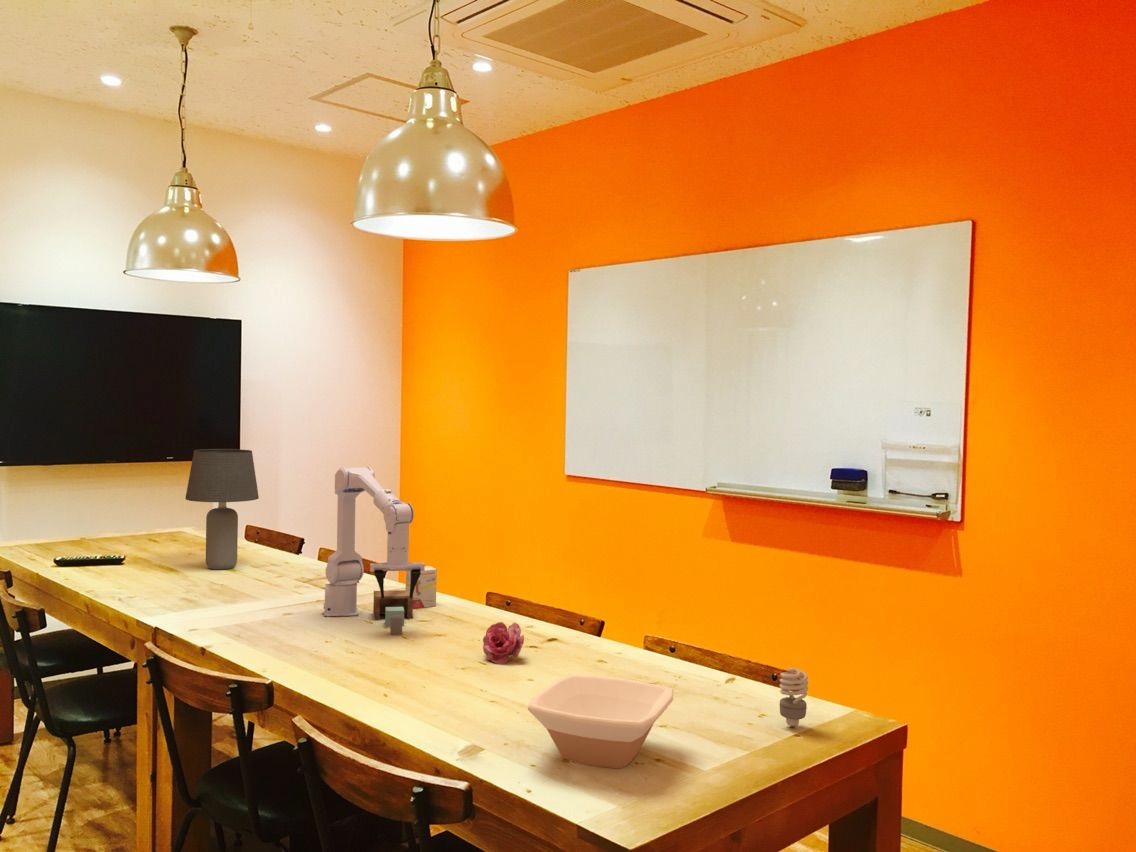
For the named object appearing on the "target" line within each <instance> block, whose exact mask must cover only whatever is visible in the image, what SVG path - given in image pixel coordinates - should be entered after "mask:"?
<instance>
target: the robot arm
mask: <svg viewBox="0 0 1136 852" xmlns="http://www.w3.org/2000/svg"><path fill="white" fill-rule="evenodd" d="M375 474H376V473H375V471H374V470H373V469H372V467H370V466H365V467H360V466H359V467H340V468H338V470H337V471H336V472H335V474H334V494H335V495H337V513H336V514H337V516H336V517H337V523H336V526H337V529H336V532H337V533H336V550H335V551H334V552H333V553H332V554H330V555H329V556H328V558H327V563H326V567H325V577H326V580H327V581H328V583H325V584H324V602H323V610H324V615H323V616H324V617H348V616H351V617H352V616H358V615H359V609H358V608H357V607H358V606H357V602H358V599H357V597H358V596H357V595H358V584H360V580H362V578H363V576H364V572H365V571H364V570H365V569H364V564H363V557H362V555H361V554H359V553H358V552H357V551H356V550H355V549H356V499H357V497H358V496H359V495H360V494H361V493H363V492H366V493H367V494H368V495H369V496H371V497H372V499H373V504H374V505H375V507H376V508H377V509H378V510H379V511H380V512H381V513H382V514H383V520H384V523H385V531H387V543H386V544H387V547H386V548H387V549H386V562H379V563H377V562H376V563H373V562H372V563H369V564H370V565H369V566H370V567H369V569H370V570H369V571H370V572H371V573H373V572H374V577H375V579H376V581H377V583H378V584H377V585H378V586H379V587H378V588H379V591H381V598H384V591H385V590H384V587H385V586H384V585H385V584H384V583H385V582H384V580H385V575H384V572H396V571H397V572H404V571H405V572H406V571H410V572H411V581H410V598H413V592H414V589H415V586H416V583H417V581H418V579H419V577H420V574H421V572H420V571H425V565H426V564H425V562H412V561H411V562H409V552H410V551H409V549H410V548H409V547H410V546H409V542H410V524H411V523H413V521H414V517H415V514H414V508H413V506H412V505H411V503H410V502H403V501H401V500H400V499H399V497H397V496H396V495H395V494H394V493H393V492H392V490H391V488H390V489H389V488H383V487H382V485H380V483H379V482H378V481H377V479H376V475H375Z"/></svg>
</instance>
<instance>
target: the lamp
mask: <svg viewBox="0 0 1136 852" xmlns="http://www.w3.org/2000/svg"><path fill="white" fill-rule="evenodd" d="M190 465H191V466H190V472H189V476H188V482H187V487H186V493H185V500H186V501H189V502H198V503H199V502H200V503H218V506H217V507H215V508H212V509H210V510H209V511H208V512H207V514H206V516H205V517H206V520H205V521H206V523H205V524H206V525H205V565H206V566H207V568H209V569H210V570H216V571H218V570H219V571H222V570H223V571H225V570H230V569H233V568H235V566H236V565H237V563H238V541H239V540H238V538H239V536H238V534H239V533H238V531H239V528H238V527H239V515H238V512H237V511H236V510H235V509H233V508H230V507H228V506H227V503H236V502H237V503H239V502H249V501H255V500H256V501H257V500H259V499H260V498H259V497H260V496H259V492H258V491H259V490H258V482H257V477H256V476H257V475H256V470H255V463H254V456H253V451H252V450H250V449H240V448H239V449H237V448H234V449H233V448H208V449H205V448H204V449H203V448H202V449H195V450H194V451H193V455H192V461H191V464H190Z"/></svg>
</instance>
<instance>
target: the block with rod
mask: <svg viewBox="0 0 1136 852" xmlns="http://www.w3.org/2000/svg"><path fill="white" fill-rule="evenodd" d="M384 615H385V616H384V624H385V628H389V629H390V631H389V633H390V635H392V636H393V635H394V636H396V635H399V636H400V635H401V636H402V635H403V626H404V627H405V613H404V608H403V607H385V614H384Z"/></svg>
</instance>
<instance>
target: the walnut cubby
mask: <svg viewBox="0 0 1136 852" xmlns="http://www.w3.org/2000/svg"><path fill="white" fill-rule="evenodd" d="M385 607H403V608H404V614H405V615H406V618H407V620H408V619H409V620H412V619H413V618H414V617H413V616H414V615H413V614H414V613H413V612H414V609H413V598H410V590H405V589H401V590H400V589H395V590H394V589H393V590H389V589H388V590H384V598H381V591H380V590H373V610H372V611H373V612H372V615H373V620H374V621H375V620H376V621H377V620H380V615H385Z"/></svg>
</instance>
